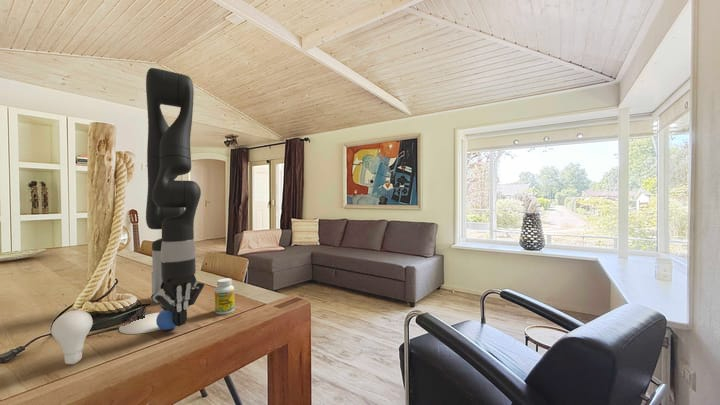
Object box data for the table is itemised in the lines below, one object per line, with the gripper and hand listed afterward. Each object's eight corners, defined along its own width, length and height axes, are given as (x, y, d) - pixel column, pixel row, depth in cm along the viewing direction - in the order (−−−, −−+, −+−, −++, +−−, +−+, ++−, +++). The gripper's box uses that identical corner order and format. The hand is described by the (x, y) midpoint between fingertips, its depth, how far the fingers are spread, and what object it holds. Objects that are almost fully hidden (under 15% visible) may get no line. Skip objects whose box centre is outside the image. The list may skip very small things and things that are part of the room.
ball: (169, 333, 73) (156, 335, 75) (188, 321, 78) (176, 324, 80) (161, 312, 73) (148, 316, 75) (181, 302, 78) (168, 305, 80)
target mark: (107, 328, 77) (107, 327, 77) (162, 309, 90) (162, 308, 90) (138, 338, 71) (138, 337, 71) (192, 317, 84) (192, 316, 84)
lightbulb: (71, 356, 63) (69, 306, 63) (101, 355, 64) (100, 305, 64) (42, 373, 57) (41, 317, 57) (76, 371, 58) (75, 316, 57)
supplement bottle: (232, 306, 92) (232, 276, 92) (236, 312, 87) (235, 280, 87) (214, 310, 89) (213, 279, 89) (216, 316, 84) (215, 283, 84)
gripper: (193, 252, 83) (194, 313, 83) (141, 261, 71) (143, 332, 71) (211, 254, 79) (212, 317, 79) (160, 263, 67) (162, 338, 67)
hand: (179, 324), depth 75 cm, fingers closed
